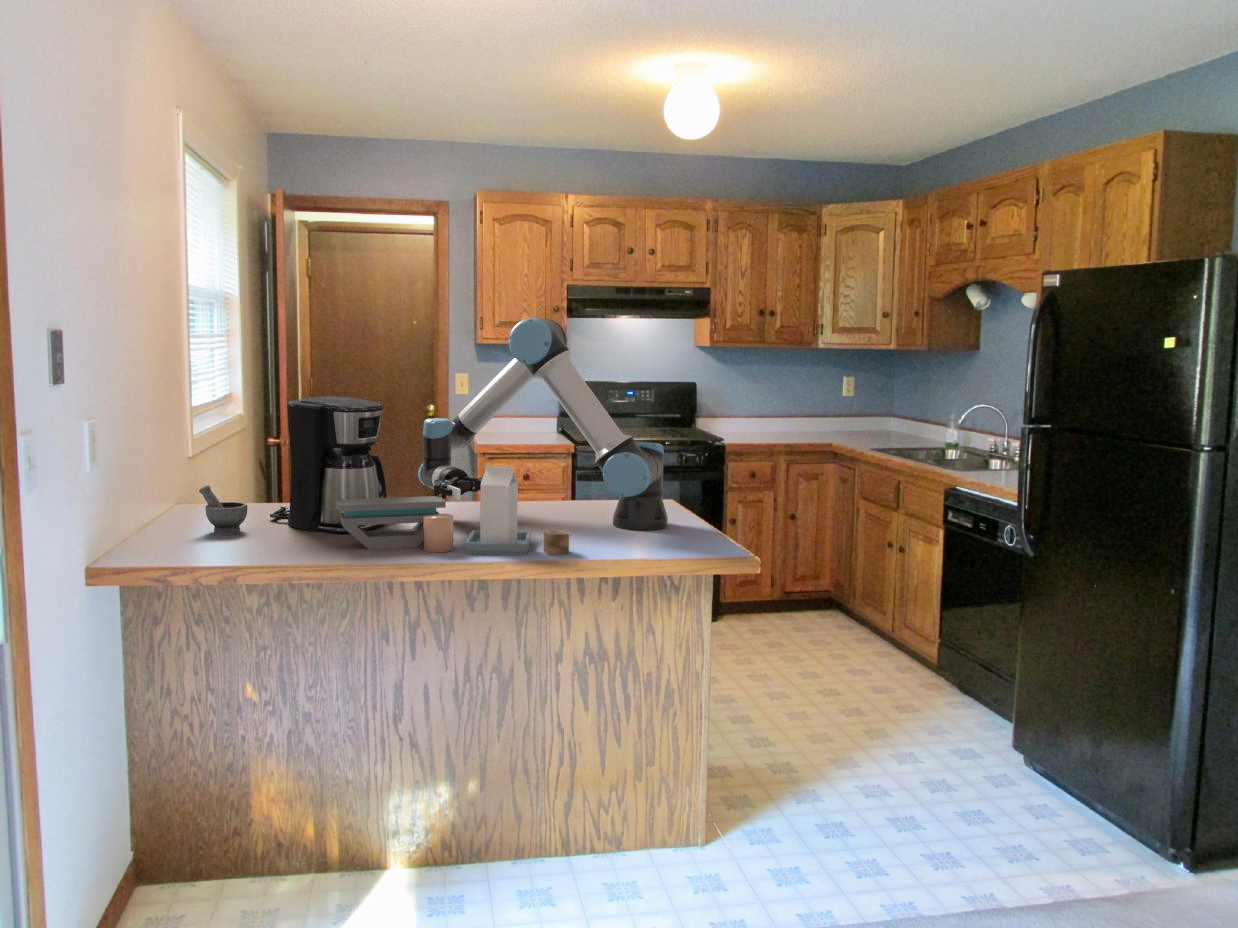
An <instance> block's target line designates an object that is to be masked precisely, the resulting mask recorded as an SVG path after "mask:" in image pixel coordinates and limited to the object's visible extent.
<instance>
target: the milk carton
mask: <svg viewBox="0 0 1238 928" xmlns="http://www.w3.org/2000/svg"><path fill="white" fill-rule="evenodd" d="M484 467H485V468H484V469H485V470H484V473H483V476H482V478H483V479H482V482H481V490H480V503H479V504H480V506H479V507H480V510H479V511H480V516H479V517H480V520H479V522H480V523H479V524H480V525H479V526H480V528H479V529H480V530H479V531H480V543H516V542H517V531H518V509H519V508H518V504H519V503H518V501H519V497H518V496H519V495H518V494H519V491H518V490H519V487H518V486H519V481H518V478H517V476H516V473H515V468H514V467H513V466H510V467H509V466H495V465H494V466H493V465H484Z"/></svg>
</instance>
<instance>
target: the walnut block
mask: <svg viewBox="0 0 1238 928" xmlns="http://www.w3.org/2000/svg"><path fill="white" fill-rule="evenodd" d="M569 551H570V534H569V533H568V531H566V530H565V529H559V530H558V529H557V530H556V529H553V530H550V529H549V530H543V552H544V553H545V554H546V555H547V556H563V555H564V556H565V555H566V556H567V555H569V553H570V552H569Z"/></svg>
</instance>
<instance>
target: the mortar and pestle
mask: <svg viewBox="0 0 1238 928" xmlns="http://www.w3.org/2000/svg"><path fill="white" fill-rule="evenodd" d="M198 492H199V494H201V495H202V497H203V498H204V500H205V502H206V503H207V504H206V505H205V507H204V508H205V515H206V518H207V520H208V521H209V523H210V524H211V525H213V526H214V527H213V533H214V534H215V535H234V534H235V535H236V534H238V533H241V528H240V526H241V525H242V524H243V523H244V522H245V520H246V518H247V516H248V515H247V514H248V504H247V503H245V502H239V501H237V502H236V501H221V502H220V500H219V499H218V498H217V496H216V495H215V494H214V492H213V491H212V490H211V485H209V484H208V485H204V486H202V487H201V488H200V489H199V490H198Z"/></svg>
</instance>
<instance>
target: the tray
mask: <svg viewBox="0 0 1238 928" xmlns="http://www.w3.org/2000/svg"><path fill="white" fill-rule="evenodd" d="M531 536H532V532H531V531H518V530H517V542H516V543H480V530H471V531H470V533H469V535H468V536H467V538H466V540H465V541H464V554H465V555H501V556H502V555H504V556H506V555H508V556H511V555H512V556H515V555H516V556H527V555H528V553H529V549H530V545H531V541H532V537H531Z"/></svg>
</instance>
